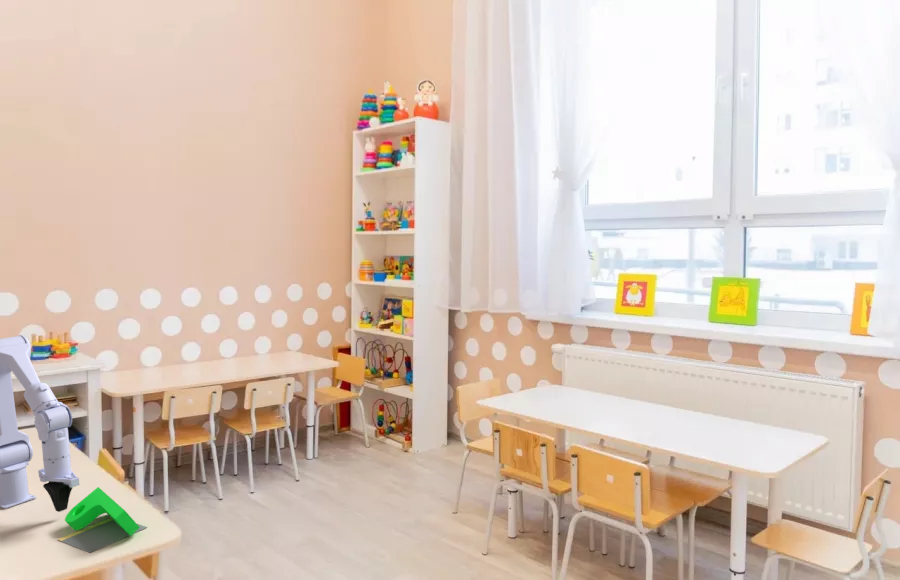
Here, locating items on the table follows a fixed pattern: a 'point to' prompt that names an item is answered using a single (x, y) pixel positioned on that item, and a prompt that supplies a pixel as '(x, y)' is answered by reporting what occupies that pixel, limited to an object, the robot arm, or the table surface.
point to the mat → (97, 535)
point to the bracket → (99, 512)
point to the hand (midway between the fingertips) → (61, 509)
